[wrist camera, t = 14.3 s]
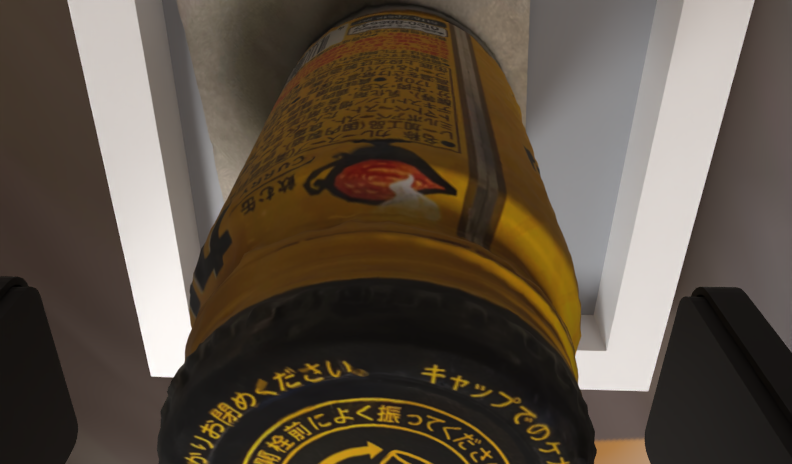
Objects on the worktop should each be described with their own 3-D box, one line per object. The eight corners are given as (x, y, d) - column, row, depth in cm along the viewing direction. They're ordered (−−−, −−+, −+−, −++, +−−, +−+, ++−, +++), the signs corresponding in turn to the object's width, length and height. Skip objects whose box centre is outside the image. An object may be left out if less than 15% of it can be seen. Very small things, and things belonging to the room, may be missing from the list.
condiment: (522, 227, 20) (637, 664, 9) (233, 240, 20) (42, 670, 10) (530, -42, 16) (732, 195, 6) (176, -17, 17) (-223, 240, 6)
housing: (626, 337, 23) (648, 391, 21) (176, 325, 23) (151, 376, 21) (766, -252, 15) (826, -266, 12) (65, -262, 15) (5, -277, 13)
